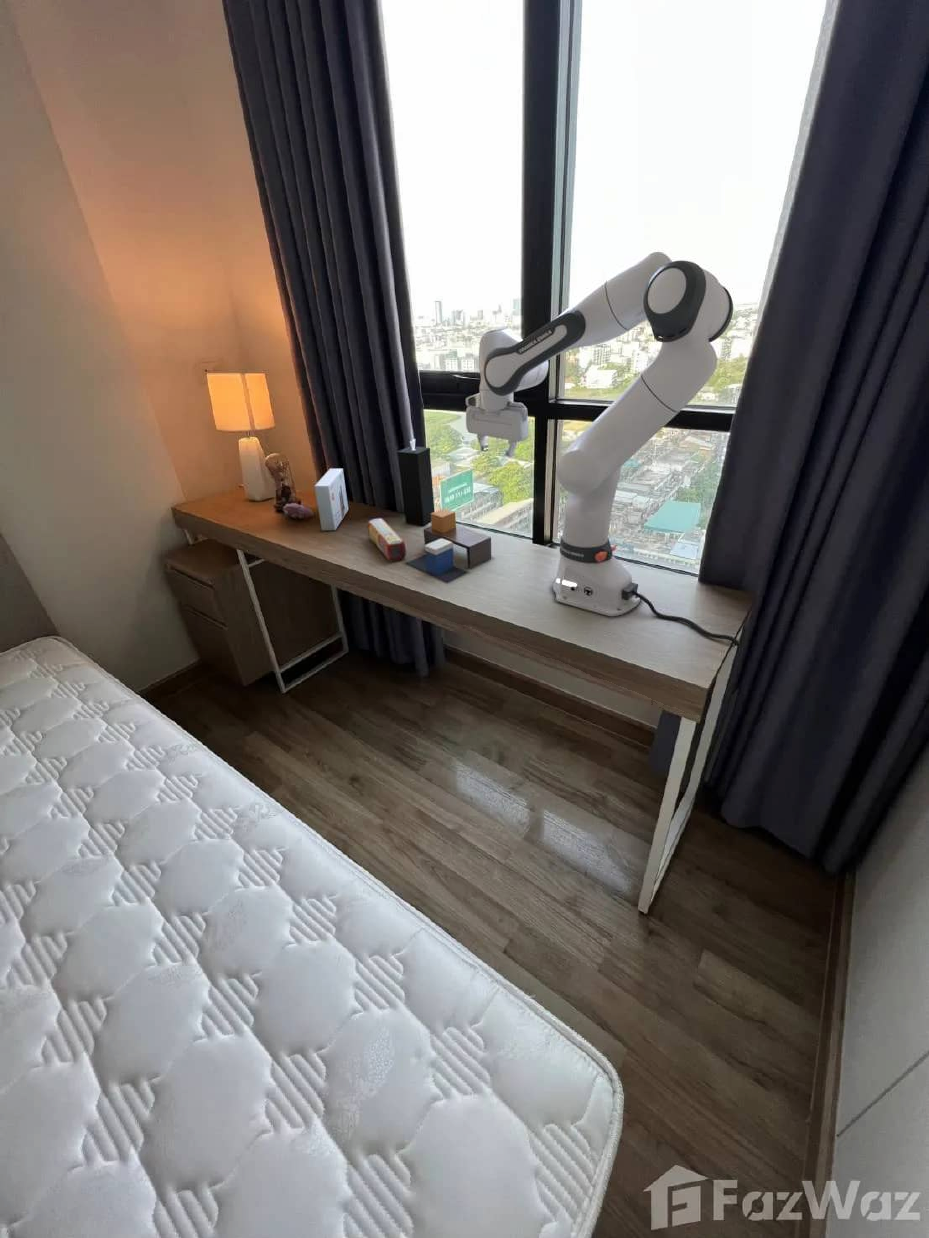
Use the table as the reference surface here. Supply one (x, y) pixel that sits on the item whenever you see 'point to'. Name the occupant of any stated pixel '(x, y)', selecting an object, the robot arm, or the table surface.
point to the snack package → (386, 539)
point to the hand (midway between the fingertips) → (496, 453)
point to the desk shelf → (464, 543)
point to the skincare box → (331, 499)
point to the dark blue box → (439, 556)
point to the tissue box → (416, 484)
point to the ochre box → (443, 520)
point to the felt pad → (446, 576)
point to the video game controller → (297, 510)
